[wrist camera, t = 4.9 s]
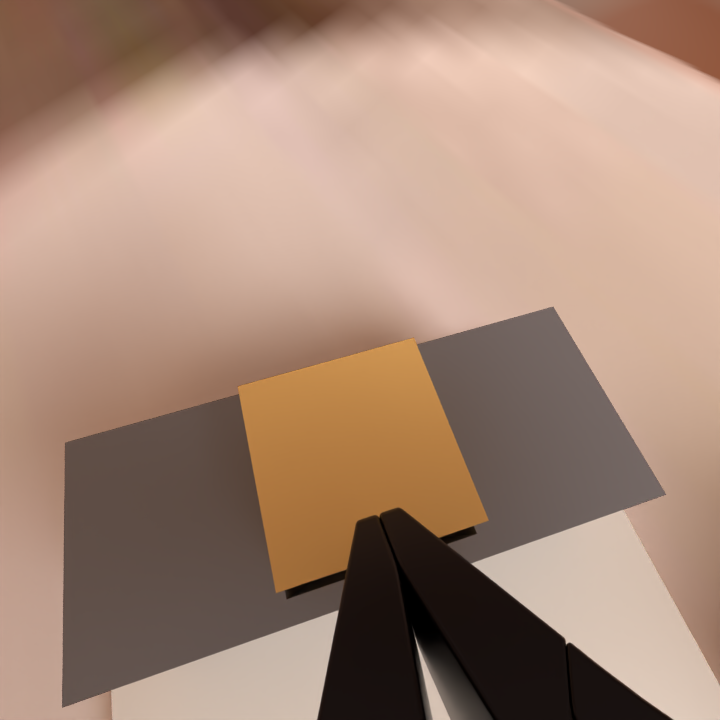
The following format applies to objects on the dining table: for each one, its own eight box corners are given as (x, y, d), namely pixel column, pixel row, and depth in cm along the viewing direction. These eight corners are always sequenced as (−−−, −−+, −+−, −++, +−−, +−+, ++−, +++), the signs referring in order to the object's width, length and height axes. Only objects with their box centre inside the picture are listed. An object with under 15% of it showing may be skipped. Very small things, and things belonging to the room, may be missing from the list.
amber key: (458, 526, 11) (489, 520, 8) (298, 581, 11) (275, 593, 8) (403, 381, 13) (414, 337, 10) (264, 420, 12) (237, 386, 10)
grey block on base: (769, 827, 13) (1145, 1088, 7) (156, 1123, 11) (-136, 1935, 5) (517, 349, 21) (585, 263, 14) (123, 463, 18) (-4, 421, 12)
